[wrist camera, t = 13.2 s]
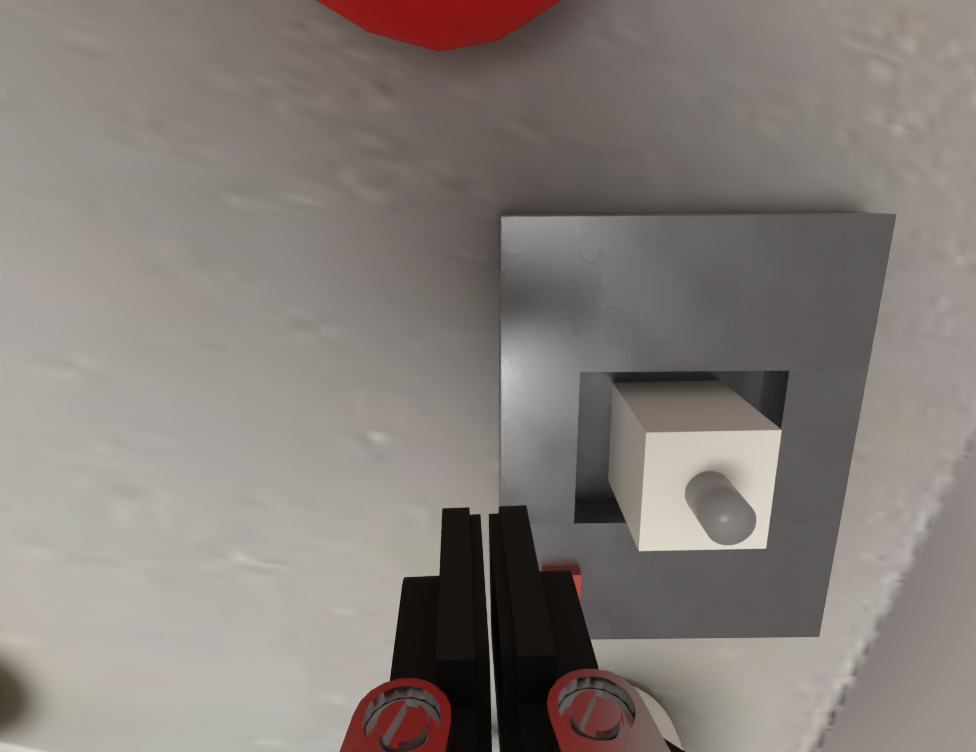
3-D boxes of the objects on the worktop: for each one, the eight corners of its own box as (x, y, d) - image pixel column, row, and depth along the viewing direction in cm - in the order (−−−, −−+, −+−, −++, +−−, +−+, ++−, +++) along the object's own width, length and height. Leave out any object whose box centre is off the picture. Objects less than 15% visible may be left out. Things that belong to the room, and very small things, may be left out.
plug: (612, 382, 26) (662, 457, 18) (720, 380, 26) (812, 455, 18) (608, 480, 27) (653, 586, 20) (710, 478, 27) (793, 583, 20)
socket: (499, 213, 24) (501, 217, 21) (856, 211, 24) (907, 214, 21) (499, 604, 29) (501, 650, 26) (792, 601, 29) (826, 646, 26)
